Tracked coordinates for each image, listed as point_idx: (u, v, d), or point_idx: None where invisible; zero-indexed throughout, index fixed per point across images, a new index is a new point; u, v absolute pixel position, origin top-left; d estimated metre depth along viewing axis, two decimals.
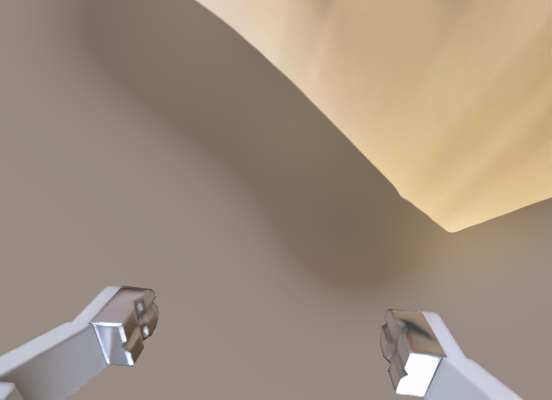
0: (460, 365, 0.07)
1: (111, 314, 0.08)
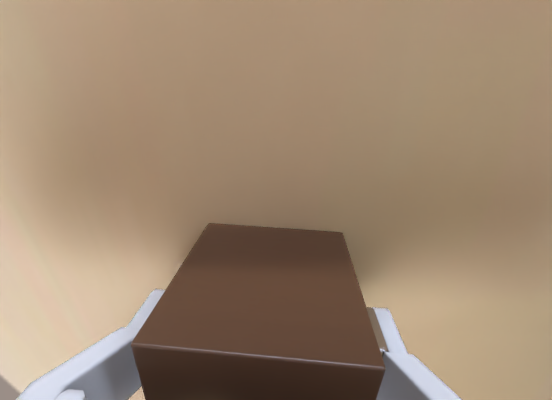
0: (400, 359, 0.07)
1: None
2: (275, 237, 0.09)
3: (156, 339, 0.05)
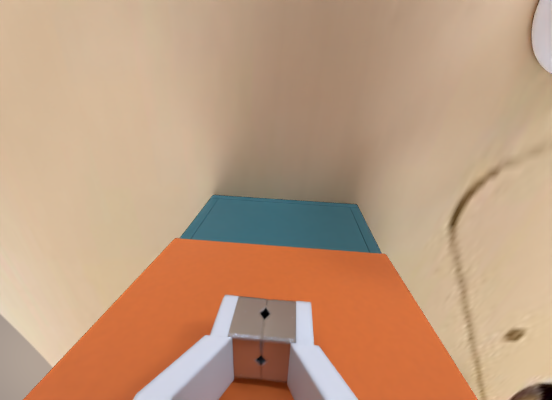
0: (304, 350, 0.07)
1: (244, 326, 0.07)
2: None
3: None
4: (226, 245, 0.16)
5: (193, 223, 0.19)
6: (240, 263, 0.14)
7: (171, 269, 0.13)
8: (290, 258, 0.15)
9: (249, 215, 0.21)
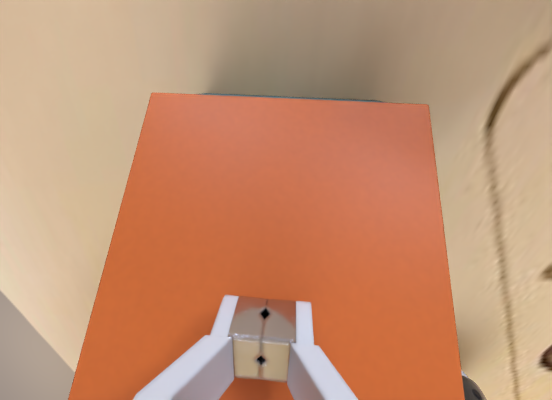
0: (304, 350, 0.07)
1: (244, 326, 0.07)
2: None
3: None
4: (218, 103, 0.12)
5: None
6: (240, 137, 0.12)
7: (163, 154, 0.12)
8: (302, 122, 0.12)
9: None
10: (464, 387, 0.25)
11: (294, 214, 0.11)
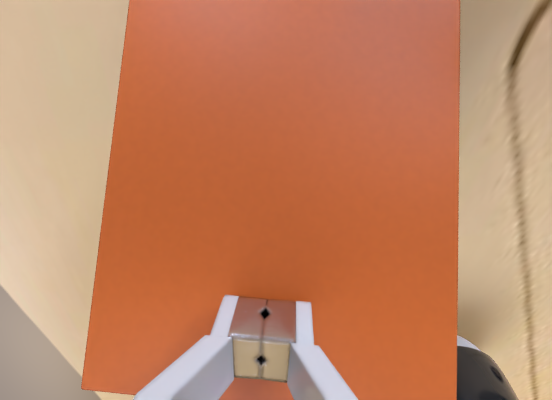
0: (304, 350, 0.07)
1: (244, 326, 0.07)
2: None
3: None
4: None
5: None
6: (238, 38, 0.10)
7: (153, 60, 0.10)
8: (309, 18, 0.10)
9: None
10: (481, 361, 0.23)
11: (299, 125, 0.10)
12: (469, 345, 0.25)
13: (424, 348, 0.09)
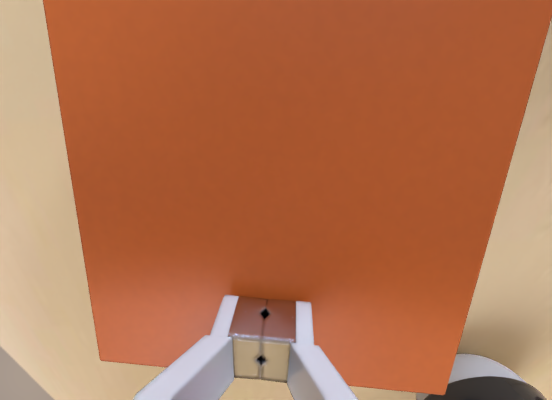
0: (304, 350, 0.07)
1: (244, 326, 0.07)
2: None
3: None
4: None
5: None
6: None
7: None
8: None
9: None
10: (530, 398, 0.19)
11: (306, 88, 0.07)
12: (511, 375, 0.21)
13: (427, 336, 0.09)
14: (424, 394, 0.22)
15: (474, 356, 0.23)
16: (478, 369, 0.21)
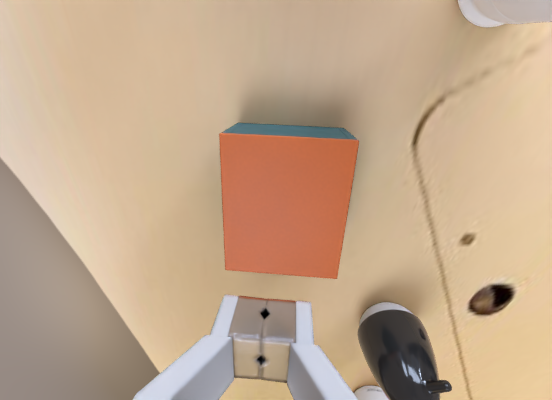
0: (304, 350, 0.07)
1: (244, 326, 0.07)
2: None
3: None
4: (254, 140, 0.25)
5: (228, 129, 0.28)
6: (267, 159, 0.26)
7: (233, 168, 0.26)
8: (295, 151, 0.25)
9: (266, 128, 0.29)
10: (408, 318, 0.38)
11: (291, 193, 0.27)
12: (404, 310, 0.40)
13: (329, 260, 0.30)
14: (361, 323, 0.41)
15: (389, 302, 0.41)
16: (387, 307, 0.40)
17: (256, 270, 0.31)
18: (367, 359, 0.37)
